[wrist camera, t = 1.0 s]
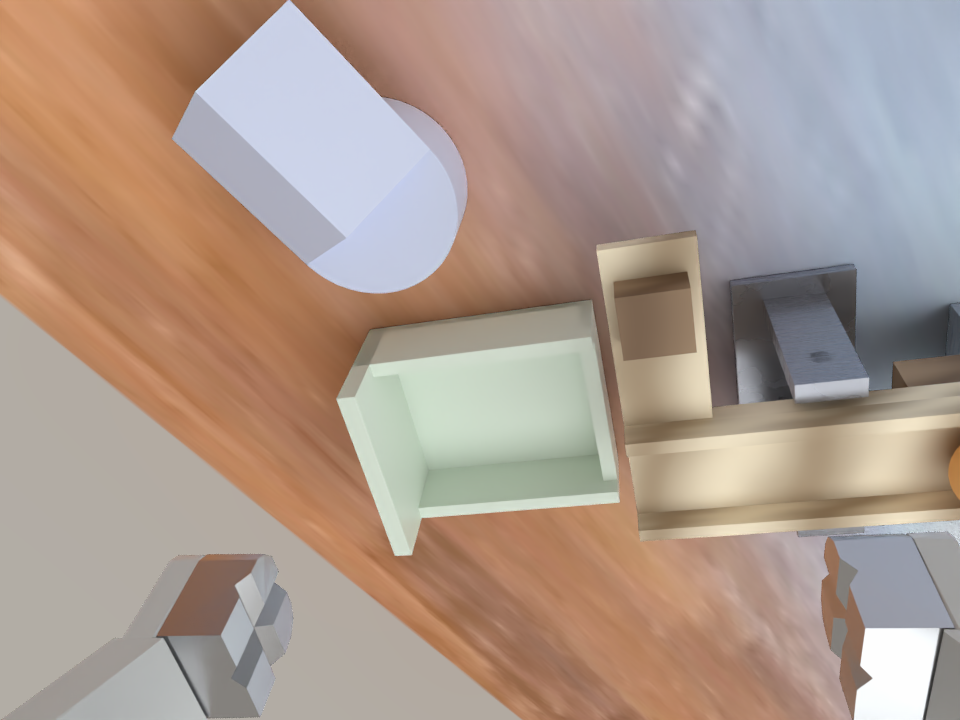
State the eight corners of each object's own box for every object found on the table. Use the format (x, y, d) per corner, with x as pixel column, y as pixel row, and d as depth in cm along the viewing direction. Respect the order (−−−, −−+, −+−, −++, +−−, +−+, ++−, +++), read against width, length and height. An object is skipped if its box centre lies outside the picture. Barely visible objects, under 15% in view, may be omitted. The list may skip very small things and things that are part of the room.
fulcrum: (988, 245, 39) (1077, 334, 32) (968, 426, 44) (1040, 536, 37) (730, 280, 42) (757, 370, 34) (741, 446, 47) (766, 553, 40)
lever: (1054, 149, 31) (1137, 203, 27) (1010, 448, 39) (1068, 532, 34) (596, 220, 35) (596, 279, 30) (636, 479, 43) (641, 559, 38)
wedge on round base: (201, 119, 40) (385, 294, 45) (137, 161, 35) (354, 358, 39) (313, -12, 36) (503, 194, 41) (260, 12, 31) (488, 249, 35)
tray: (591, 299, 43) (590, 369, 37) (618, 457, 49) (620, 540, 43) (369, 329, 46) (336, 399, 40) (418, 476, 51) (395, 555, 46)
